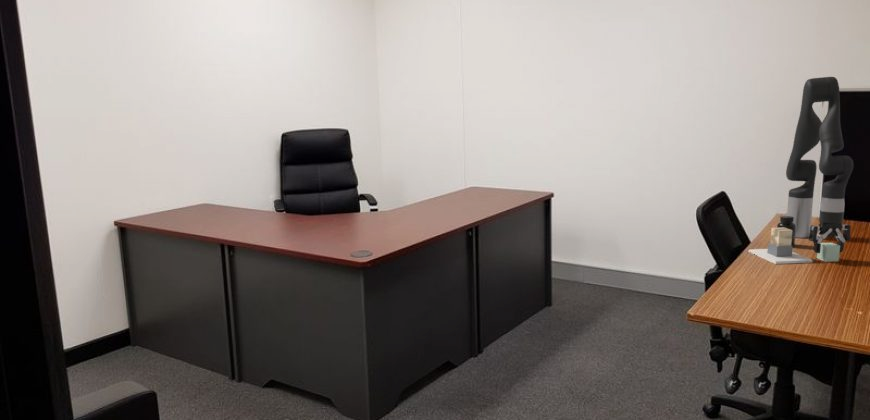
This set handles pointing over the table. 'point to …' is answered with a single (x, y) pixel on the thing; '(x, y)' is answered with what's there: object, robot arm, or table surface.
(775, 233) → the birch block
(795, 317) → the table surface
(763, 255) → the build plate
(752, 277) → the table surface
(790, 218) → the supplement bottle
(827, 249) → the sage block
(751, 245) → the table surface
